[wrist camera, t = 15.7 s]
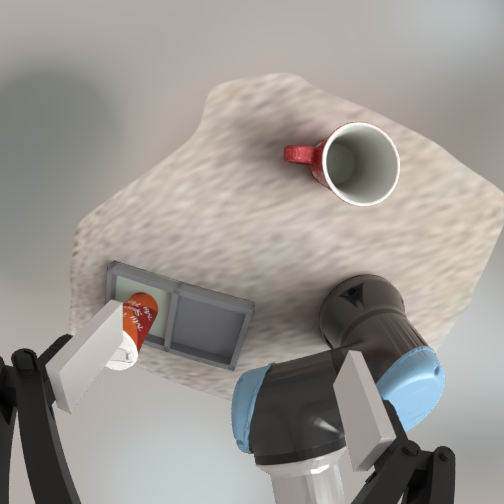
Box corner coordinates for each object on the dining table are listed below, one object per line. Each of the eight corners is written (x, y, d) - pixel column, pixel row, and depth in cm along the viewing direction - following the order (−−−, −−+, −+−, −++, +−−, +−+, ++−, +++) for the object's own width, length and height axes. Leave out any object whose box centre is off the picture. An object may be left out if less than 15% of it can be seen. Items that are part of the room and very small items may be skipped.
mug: (366, 140, 40) (406, 134, 27) (357, 198, 42) (392, 214, 29) (284, 123, 40) (293, 105, 27) (275, 183, 42) (279, 191, 29)
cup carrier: (254, 302, 48) (253, 310, 45) (235, 361, 52) (233, 370, 49) (114, 260, 47) (107, 266, 44) (110, 321, 51) (104, 329, 48)
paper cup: (164, 290, 47) (132, 336, 34) (164, 329, 50) (136, 378, 36) (123, 282, 47) (82, 322, 34) (125, 319, 50) (90, 364, 36)
